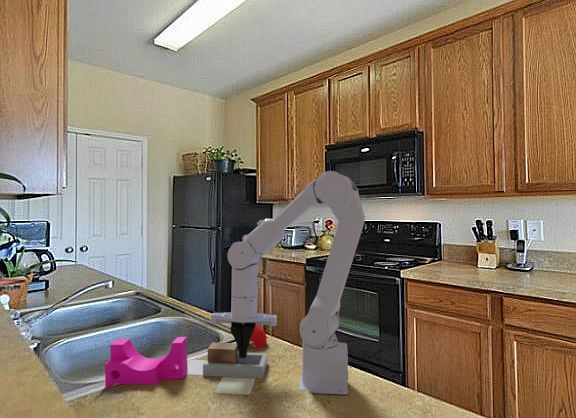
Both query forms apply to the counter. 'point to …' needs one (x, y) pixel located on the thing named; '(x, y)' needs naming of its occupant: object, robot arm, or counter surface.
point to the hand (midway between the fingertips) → (243, 356)
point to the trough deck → (230, 367)
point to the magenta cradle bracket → (144, 364)
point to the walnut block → (223, 353)
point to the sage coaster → (235, 385)
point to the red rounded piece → (259, 337)
